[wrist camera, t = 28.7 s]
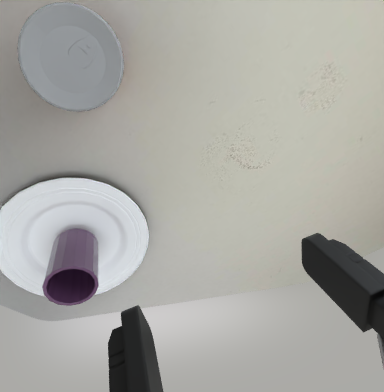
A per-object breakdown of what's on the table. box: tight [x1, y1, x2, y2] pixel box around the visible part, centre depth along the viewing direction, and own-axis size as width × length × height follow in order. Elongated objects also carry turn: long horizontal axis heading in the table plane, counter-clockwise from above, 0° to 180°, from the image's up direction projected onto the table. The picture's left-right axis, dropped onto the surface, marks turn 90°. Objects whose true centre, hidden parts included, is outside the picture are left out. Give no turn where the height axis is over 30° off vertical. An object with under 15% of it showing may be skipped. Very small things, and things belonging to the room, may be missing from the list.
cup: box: [42, 228, 99, 306], centre depth 35 cm, size 6×6×8 cm
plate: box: [0, 177, 149, 296], centre depth 39 cm, size 21×21×2 cm
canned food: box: [17, 2, 124, 112], centre depth 26 cm, size 8×8×11 cm
